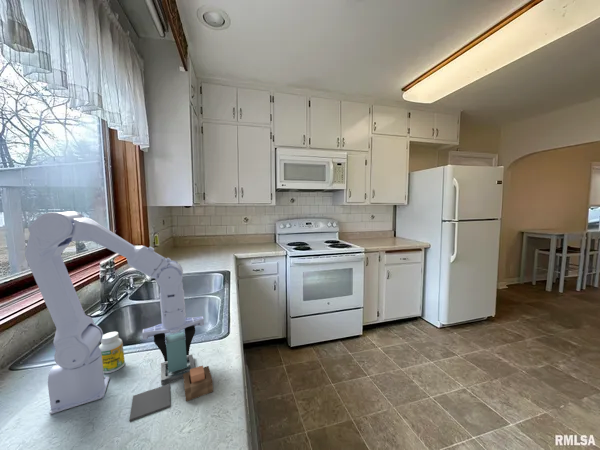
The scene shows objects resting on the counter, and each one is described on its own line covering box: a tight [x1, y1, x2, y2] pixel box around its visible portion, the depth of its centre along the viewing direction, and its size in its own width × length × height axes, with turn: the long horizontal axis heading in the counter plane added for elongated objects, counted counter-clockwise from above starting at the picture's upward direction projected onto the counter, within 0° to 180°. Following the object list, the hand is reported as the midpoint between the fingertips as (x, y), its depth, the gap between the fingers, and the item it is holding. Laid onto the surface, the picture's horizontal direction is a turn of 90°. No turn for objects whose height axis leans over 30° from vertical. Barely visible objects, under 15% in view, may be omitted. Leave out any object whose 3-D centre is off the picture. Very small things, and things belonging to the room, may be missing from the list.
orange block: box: [190, 365, 205, 384], centre depth 62 cm, size 3×3×4 cm
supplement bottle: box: [99, 331, 126, 374], centre depth 71 cm, size 5×5×10 cm
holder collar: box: [160, 353, 196, 386], centre depth 69 cm, size 8×8×1 cm
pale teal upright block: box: [165, 331, 188, 374], centre depth 68 cm, size 4×4×8 cm
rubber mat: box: [128, 383, 171, 422], centre depth 58 cm, size 8×8×1 cm
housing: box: [182, 365, 214, 402], centre depth 62 cm, size 6×6×3 cm
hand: (176, 356), depth 69 cm, fingers closed on pale teal upright block, 4 cm apart
